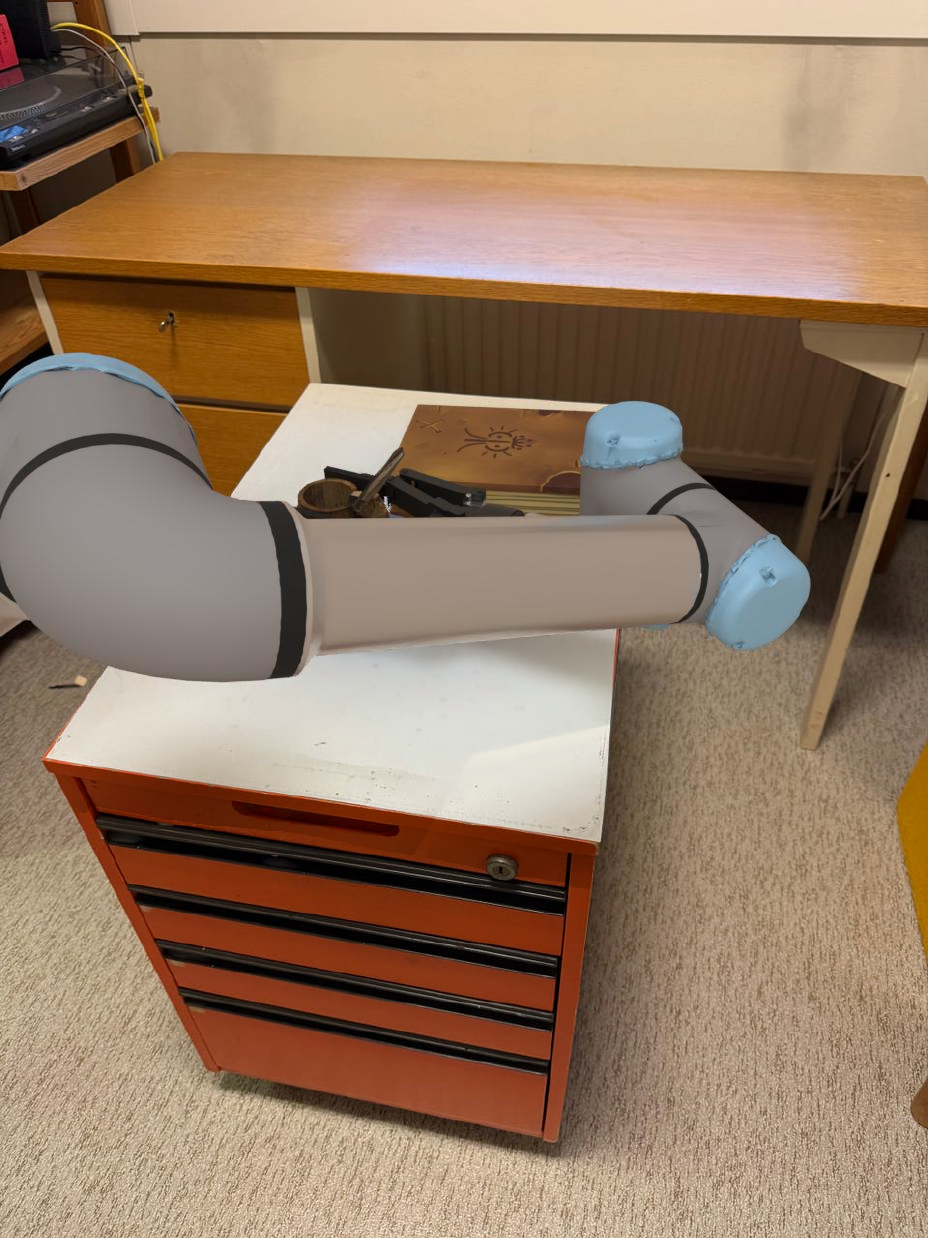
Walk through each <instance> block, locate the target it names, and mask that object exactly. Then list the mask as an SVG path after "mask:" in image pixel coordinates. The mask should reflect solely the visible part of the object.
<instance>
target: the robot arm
mask: <svg viewBox="0 0 928 1238" xmlns="http://www.w3.org/2000/svg"><path fill="white" fill-rule="evenodd" d="M594 412H595V413H594V414H593V415H592V416H591V418H590V419H589V421H588V423H587V426H586V432H585V440H584V447H583V455H582V456H581V457H580V463H581V481H580V511H579V516H546V515H542V514H538V513H534V512H531V513H528V514H526V515H525V514H524V513H523V511H522V510H519V509H514V508H510V507H506V506H502V505H497V504H493V503H488V504H487V503H486V490H485V489H484V488H476V487H465V486H462V485H459V484H456V483H452V482H449V481H446V480H443V479H440V478H437V477H434V476H430V475H427V474H424V473H421V472H418V471H415V470H411V469H408V468H403V469H401V470H400V471H399V475H397V476H396V477H395V476H389V478H388V479H387V480H386V482H385V483H384V485H383V486H382V487H381V489H380V490H379V491H378V494H379V496H380V497H381V499H382V500H383V502H384V503H385V497H386V500H387V501H386V503H387V507H388V508H391V507H392V506H393V505H395V506H397V507H399V508H401V509H402V510H404V511H406V512H407V513H409V514H411V515H412V516H414V517H416V518H368V519H339V518H336V517H332V516H328V515H324V514H320V513H316V512H313V511H309V510H305V509H301V508H297V506H293V505H292V504H291V503H290V502H288V501H286V500H248V499H239V498H236V497H232V496H228V495H225V494H223V493H220V492H218V491H216V490H214V487H213V484H212V482H211V479H210V477H209V474H208V472H207V469H206V467H205V464H204V462H203V459H202V457H201V454H200V450H199V446H198V445H199V444H198V441H197V437H196V433H195V431H194V428H193V426H191V424H190V423H189V422H188V420H187V418H185V416H184V415H183V414H182V411H181V409H180V407H178V405H177V403H176V402H175V400H174V399H173V397H172V396H171V395H170V394H169V393H168V391H167V390H166V389H165V388H164V387H163V386H162V385H161V384H160V383H159V382H158V381H157V380H156V379H154V378H153V377H152V376H150V375H149V374H148V373H146V372H145V371H143V370H142V369H141V368H138V367H136V366H135V365H133V364H130V363H128V362H125V361H123V360H120V359H118V358H115V357H112V356H105V355H101V354H92V353H90V352H67V353H58V354H54V355H49V356H46V357H43V358H41V359H40V358H39V359H38V360H36V361H33V362H31V363H30V364H28V365H26V366H24V367H23V368H21V369H20V370H18V371H17V372H16V373H15V374H14V375H12V376H11V378H9V379H8V381H7V382H6V383H5V384H4V386H3V387H2V388H1V390H0V638H1V637H3V636H4V635H5V634H6V633H8V632H10V630H12V629H13V628H15V627H16V626H17V625H19V624H21V623H22V622H23V621H31V623H32V624H33V625H34V626H35V627H36V628H37V629H39V630H40V631H41V632H42V633H43V634H44V635H46V636H47V637H49V638H50V639H52V640H53V641H54V642H56V643H57V644H58V645H60V646H62V648H65V649H67V650H68V651H70V652H72V653H74V654H76V655H79V656H81V657H83V658H86V659H87V660H88V659H89V660H90V661H93V662H96V663H99V664H102V665H105V666H107V667H110V668H114V669H116V670H120V671H124V672H128V673H134V674H138V675H143V676H146V677H152V678H160V679H161V678H162V679H169V680H178V681H186V682H207V683H236V682H239V683H240V682H257V681H258V682H259V681H266V680H277V679H285V678H286V679H287V678H294V677H295V678H296V677H297V676H299V675H300V674H301V673H302V672H303V670H304V669H305V668H306V667H307V666H308V664H309V663H310V661H311V660H313V659H315V657H321V656H331V655H343V654H355V653H364V652H365V653H366V652H375V651H386V650H388V651H389V650H398V649H408V648H420V647H431V646H433V647H434V646H443V645H455V644H465V643H475V642H476V643H477V642H486V641H497V640H508V639H519V638H520V639H521V638H530V637H540V636H542V637H543V636H553V635H563V634H575V633H586V632H595V631H596V632H597V631H608V630H619V629H629V628H630V629H631V628H641V629H647V630H653V631H664V630H667V629H669V628H670V627H671V626H672V625H679V624H681V625H682V624H691V623H698V624H701V625H703V626H704V627H705V631H706V633H707V634H708V635H709V636H710V637H714V638H716V639H717V640H719V641H720V642H721V643H722V644H723V645H724V646H726V647H728V648H730V649H734V650H735V651H740V652H741V651H742V652H743V651H745V652H746V651H752V650H756V649H759V648H761V647H764V646H766V645H769V644H770V643H772V642H773V641H775V640H776V639H778V638H779V637H780V636H782V635H783V634H784V633H785V632H787V630H789V628H790V627H792V625H793V624H794V623H795V622H796V621H797V620H798V618H799V617H800V615H801V612H802V610H803V608H804V606H805V605H806V603H807V601H808V599H809V597H810V592H811V577H810V573H809V570H808V569H807V567H806V566H805V564H804V563H803V562H802V561H801V560H800V559H799V558H798V557H797V556H796V555H795V554H793V552H792V551H791V550H789V548H787V546H786V545H785V544H783V542H782V540H781V538H780V537H779V536H778V535H776V534H773V533H770V532H769V531H768V530H766V529H765V528H764V527H763V526H762V525H760V524H759V523H758V522H756V521H755V520H754V519H753V518H752V517H750V516H749V515H748V514H746V513H745V512H744V511H743V510H741V509H740V508H738V506H736V505H735V504H734V503H733V502H731V500H729V499H728V498H726V497H725V496H724V495H723V494H722V493H720V492H719V491H718V490H717V489H716V488H715V487H714V486H713V485H712V484H711V483H709V482H708V481H707V480H706V479H705V478H703V477H702V476H701V475H699V474H698V473H697V472H696V471H694V470H693V469H692V468H691V467H690V466H689V465H687V464H686V463H685V462H683V461H682V458H681V455H682V452H683V451H684V443H683V426H682V423H681V421H680V418H679V416H678V415H677V414H675V412H673V411H672V410H670V409H669V408H667V407H665V406H662V405H660V404H657V403H652V402H647V401H637V400H630V401H629V400H628V401H620V402H617V403H613V404H608V405H605V406H603V407H601V408H600V409H598V410H597V411H594ZM323 475H324V479H327V478H334V479H341V480H346V481H348V482H351V483H352V484H354V485H355V486H356V488H357V490H358V491H360V492H362V491H363V490H364V488H365V487H366V486H367V485H368V483H369V482H370V481H371V479H372V478H373V477H374V476H375V474H370V473H367V472H361V473H360V472H355V471H351V470H347V469H342V468H339V467H335V466H329V465H326V466H325V468H323ZM412 481H413V482H414V486H412Z"/></svg>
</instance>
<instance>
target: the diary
mask: <svg viewBox="0 0 928 1238" xmlns="http://www.w3.org/2000/svg"><path fill="white" fill-rule="evenodd" d="M595 412H596V411H591V410H569V409H568V410H567V409H546V408H545V409H544V408H543V409H541V408H520V407H519V408H517V407H497V406H496V407H494V406H473V405H471V406H470V405H469V406H468V405H446V404H445V405H444V404H425V403H423V404H422V403H421V404H419V403H418V404H417V405H416V407H415V409H414V411H413V414H412V416H411V418H410V421H409V423H408V425H407V428H406V430H405V432H404V435H403V437H402V439H401V442H400V444H399V446H398V448H401V447H402V448H403V450H404V453H405V456H404V457H403V458H402V460H401V461H400V462H399V464H398V465H397V467H396V468H395V469H394V471H393V472H392V474H391V475H390V476H395V477H396V476H397V475H399V471H400V470H401V469H403V468H408V469H411V470H415V471H418V472H421V473H424V474H427V475H430V476H434V477H437V478H440V479H443V480H446V481H449V482H452V483H456V484H459V485H462V486H465V487H476V488H484V489H485V490H486V503H487V504H488V503H493V504H497V505H502V506H506V507H510V508H514V509H519V510H522V511H523V513H524V514H525V515H526V514H528V513H531V512H534V513H538V514H542V515H546V516H579V511H580V481H581V463H580V457H581V456H582V455H583V447H584V440H585V432H586V426H587V423H588V421H589V419H590V418H591V416H592V415H593V414H594V413H595ZM412 486H414V482H413V481H412ZM389 514H392V515H397V516H402V517H405V518H416V517H414V516H412V515H411V514H409V513H407V512H406V511H404V510H402V509H401V508H399V507H397V506H395V505H393V506H390V509H389Z"/></svg>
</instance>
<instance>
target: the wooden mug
mask: <svg viewBox="0 0 928 1238" xmlns="http://www.w3.org/2000/svg"><path fill="white" fill-rule="evenodd" d="M404 456H405V453H404V450H403V448H402V447H401V448H399V447H397V448H396V449H395V450H394V451H392V453H391V455H390V456H389V458H388V459H387V460H386V462H385V463H384V464H383V465H382V467H381V468H380V469H379V470H378V471H377V472H376V473H375V474H374V477H373V478H372V479H371V481H370V482H369V483H368V485H367V486H366V487H365V488H364V490H363V491H362V492H360V491H358V490H357V488H356V486H355V485H354V484H352V483H351V482H348V481H346V480H341V479H334V478H327V479H325V478H321V479H318V480H315V481H312V482H309V483H307V484H306V485H304V486H303V487H302V488H301V489H300V490H299V491H298V494H297V505H296V507H297V508H301V509H305V510H309V511H313V512H316V513H320V514H324V515H328V516H332V517H336V518H339V519H367V518H390V516H389V514H390V511H389V510H388V508H387V506H386V504H385V502H383V500H382V499H381V497H380V496H379V494H378V491H379V490H380V489H381V487H382V486H383V485H384V483H385V482H386V480H387V479H388V478H389V476H390V475H391V474H392V472H393V471H394V469H395V468H396V467H397V465H398V464H399V462H400V461H401V460H402V458H403V457H404Z"/></svg>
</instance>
